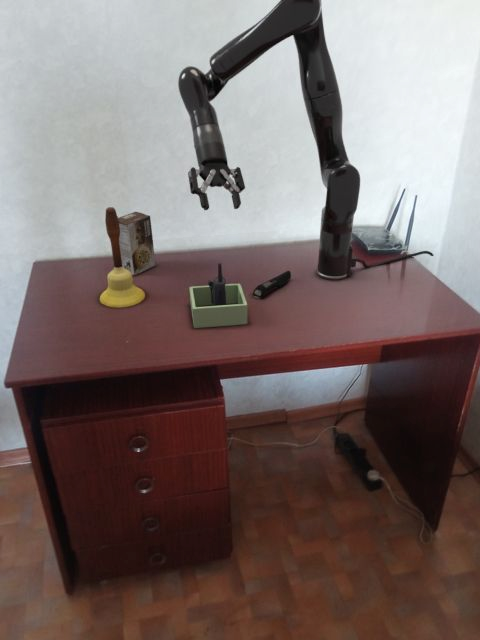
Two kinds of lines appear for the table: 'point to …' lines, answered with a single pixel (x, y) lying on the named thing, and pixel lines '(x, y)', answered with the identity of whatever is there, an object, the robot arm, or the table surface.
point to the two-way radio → (218, 289)
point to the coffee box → (136, 242)
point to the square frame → (218, 307)
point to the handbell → (118, 271)
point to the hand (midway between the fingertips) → (222, 208)
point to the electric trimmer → (271, 284)
